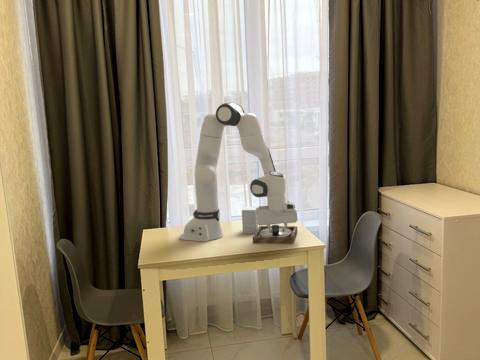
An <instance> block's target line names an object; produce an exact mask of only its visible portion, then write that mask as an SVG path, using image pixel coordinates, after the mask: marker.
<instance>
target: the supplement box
mask: <svg viewBox="0 0 480 360" xmlns="http://www.w3.org/2000/svg"><path fill="white" fill-rule="evenodd" d="M257 208H258V207H257V206H245V207H243V208H242V210H241V220H242V221H241V224H242V234H255V233H256V231H257V229H258V228H259V225H258V224H257V222H256V218H257V215H256V209H257Z"/></svg>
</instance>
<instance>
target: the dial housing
mask: <svg viewBox="0 0 480 360" xmlns="http://www.w3.org/2000/svg"><path fill="white" fill-rule="evenodd" d="M279 227H280V228H283V227H284V225H279ZM267 228H268V227H267V225H258V229H257V231H256V233H253V236H252V244H279V245H280V244H281V245H294V243H295V241H296V238H297V235H298V226H295V225H293V226H292V225H290V226H288V225H287V227H286V228H287V229H290V230H291V232H292V235H291V237H260V231H261V230H263V229H267ZM269 228H272V225H270V227H269Z"/></svg>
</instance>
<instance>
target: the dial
mask: <svg viewBox="0 0 480 360" xmlns="http://www.w3.org/2000/svg"><path fill="white" fill-rule="evenodd" d="M271 226H272V228H270V229H272V230H273V231H272V232H273V233H269V229H268V228H267V229H263V230H261V231H260V237H291V235H292V232H291V230H290V229H287V228H286V229H285V232H282V228H280V227H279V226H280V224H271Z"/></svg>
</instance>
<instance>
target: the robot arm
mask: <svg viewBox="0 0 480 360" xmlns="http://www.w3.org/2000/svg"><path fill="white" fill-rule="evenodd" d="M230 126H231V127H236V128H237V131H238V134H239V138H240V144H241V146H242V149H243V150H244V151H245V152H246V153H248V154H250V155H253V156H255V157H256V158H258V160H259V161H260V166H261V169H262V172H263V175H262V176H261V177H257V178H255V179H253V180H252V181H251V182H250V184H249V190H250V193H251V194H252V196H254V197H255V198H263V197H265V198H267V205H262V206H261V205H260V206H258V207H257V209H256V215H257V218H256V222H257V224H258V226H267V227H268V229H269V233H273V232H272V231H273V230H272V229H270V228H269V227H270V226H272V225H283V226H284V227H283V228H282V232H285V229H286V227H287V226H288V224H294V223H295V224H296V223H297V222H298V212H297V210H296V205H295V203H293V202H292V201H290V200H287V199H286V196H285V195H286V180H285V177H284V174H283V173H282V172H278V171H277V170H276V168H275V164H274V161H273V158H272V155H271V152H270V149H269V147H268V145H267V144H266V142H265V139H264V137H263V136H264V135H263V131H262V127H261V124H260V121H259V119H258V116H257V115H256V114H255V113H251V112H247V113H245V111H244V109H243V107H242V106H241V105H240V104H238V103H234V102H227V103H226V102H225V103H221V104H220V105H219V106H218V107H217V108H216V110H215V113H209V114H206V115H205V116H204V118H203V121H202V125H201V129H200V132H199V133H200V135H199V140H198V141H199V142H198V148H197V154H196V159H195V166H194V185H195V197H196V199H195V200H196V209H195V210H194V211H193V214H192V216H193V218H192V219H190V220H189V221H188V222H187V223H186V224H185V225H184V227H183V228H184V229H183V232H182V233H181V234H180V235H179V239H180V240H182V241H196V242H202V243H203V242H204V243H205V242H208V241H213V240H217V239H220V238H222V237H223V236H224V233H223V229H222V227H221V221H220V220H221V214H220V213H221V212H220V209H219V197H218V175H217V166H218V163H219V162H218V161H219V158H220V151H221V145H222V140H223V134H224V133H223V132H224V129H225V127H230Z"/></svg>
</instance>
